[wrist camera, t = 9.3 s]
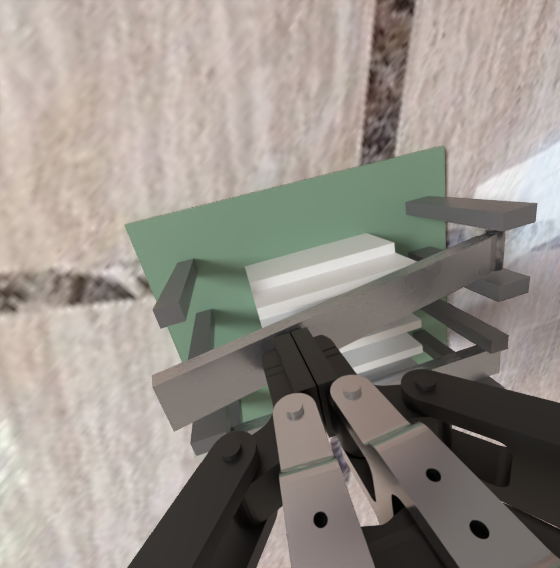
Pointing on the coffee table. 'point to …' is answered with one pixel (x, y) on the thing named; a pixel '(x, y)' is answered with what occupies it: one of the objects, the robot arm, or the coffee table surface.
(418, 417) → the robot arm
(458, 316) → the heatsink board
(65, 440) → the coffee table surface
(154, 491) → the coffee table surface
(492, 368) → the strap
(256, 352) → the strap
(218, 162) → the coffee table surface
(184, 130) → the coffee table surface
